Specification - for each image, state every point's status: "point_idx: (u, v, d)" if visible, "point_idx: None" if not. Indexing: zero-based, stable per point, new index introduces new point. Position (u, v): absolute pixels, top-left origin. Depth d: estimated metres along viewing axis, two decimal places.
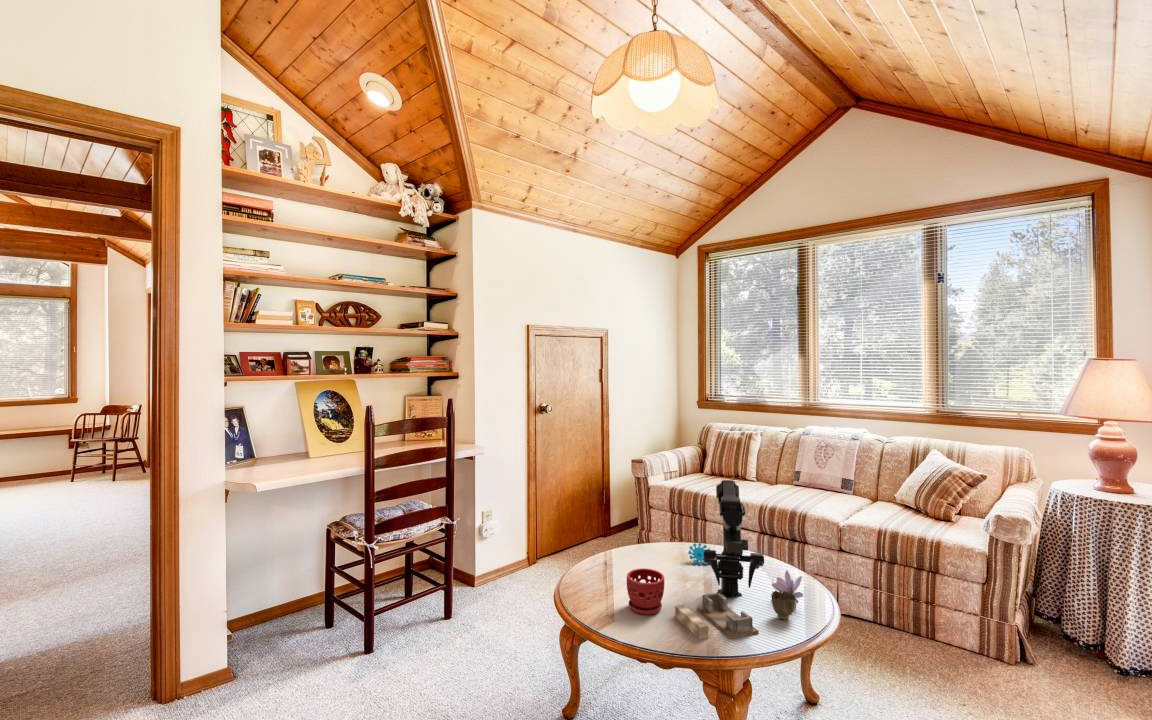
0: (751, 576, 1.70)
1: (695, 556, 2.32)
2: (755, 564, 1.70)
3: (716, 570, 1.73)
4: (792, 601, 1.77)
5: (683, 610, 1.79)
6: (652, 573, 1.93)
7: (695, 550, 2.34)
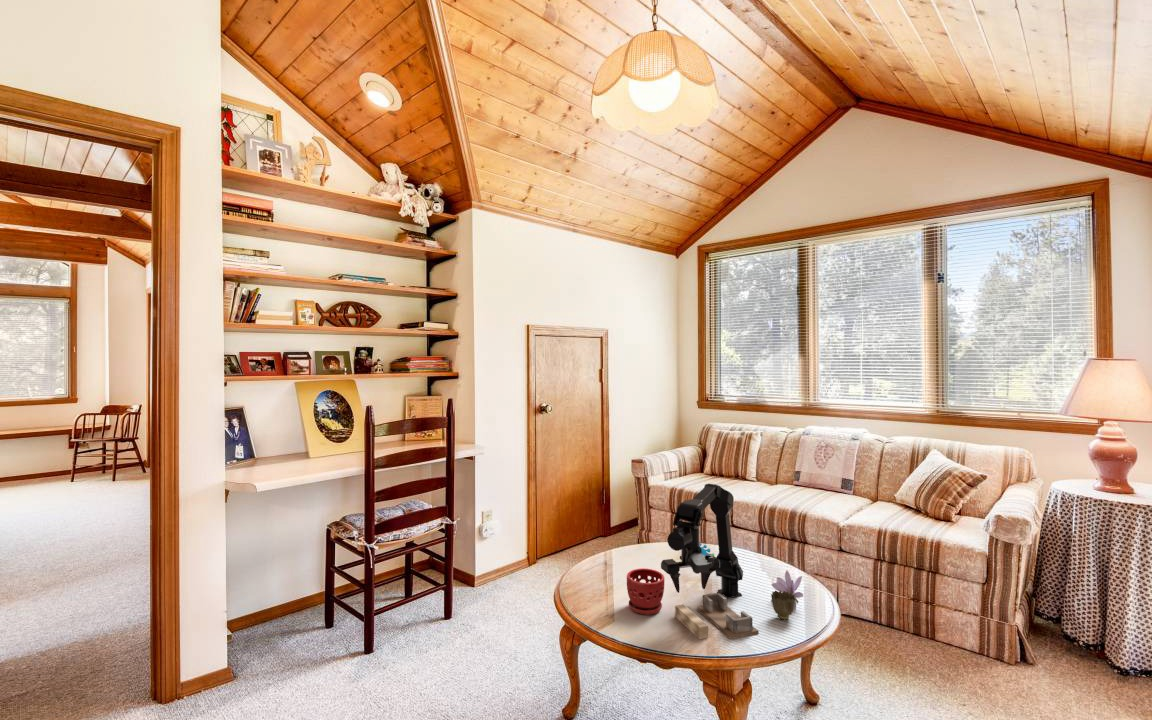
0: (707, 580, 1.76)
1: None
2: (712, 571, 1.75)
3: (677, 581, 1.73)
4: (792, 601, 1.77)
5: (683, 610, 1.79)
6: (652, 573, 1.93)
7: None
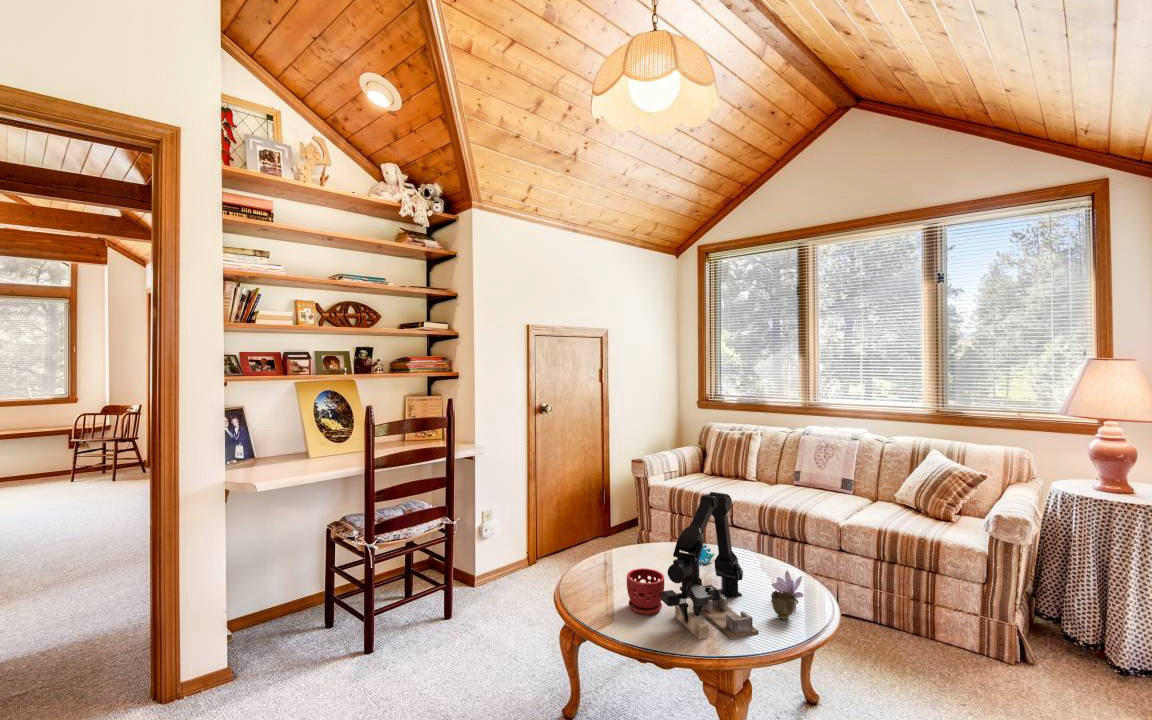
0: (699, 612, 1.75)
1: None
2: None
3: (685, 611, 1.73)
4: (792, 601, 1.77)
5: None
6: (652, 573, 1.93)
7: None
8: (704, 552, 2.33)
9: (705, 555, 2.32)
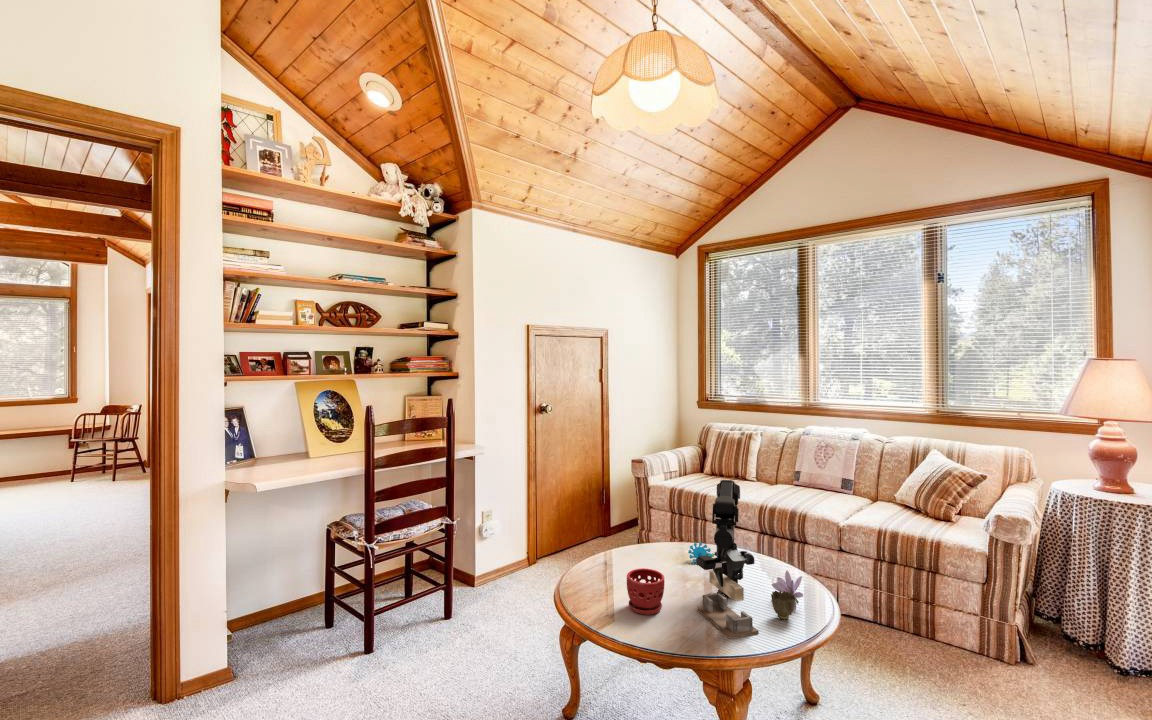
0: (733, 576, 1.79)
1: (695, 555, 2.33)
2: (739, 567, 1.78)
3: (721, 575, 1.77)
4: (792, 601, 1.77)
5: None
6: (652, 573, 1.93)
7: (695, 549, 2.35)
8: (704, 552, 2.34)
9: None
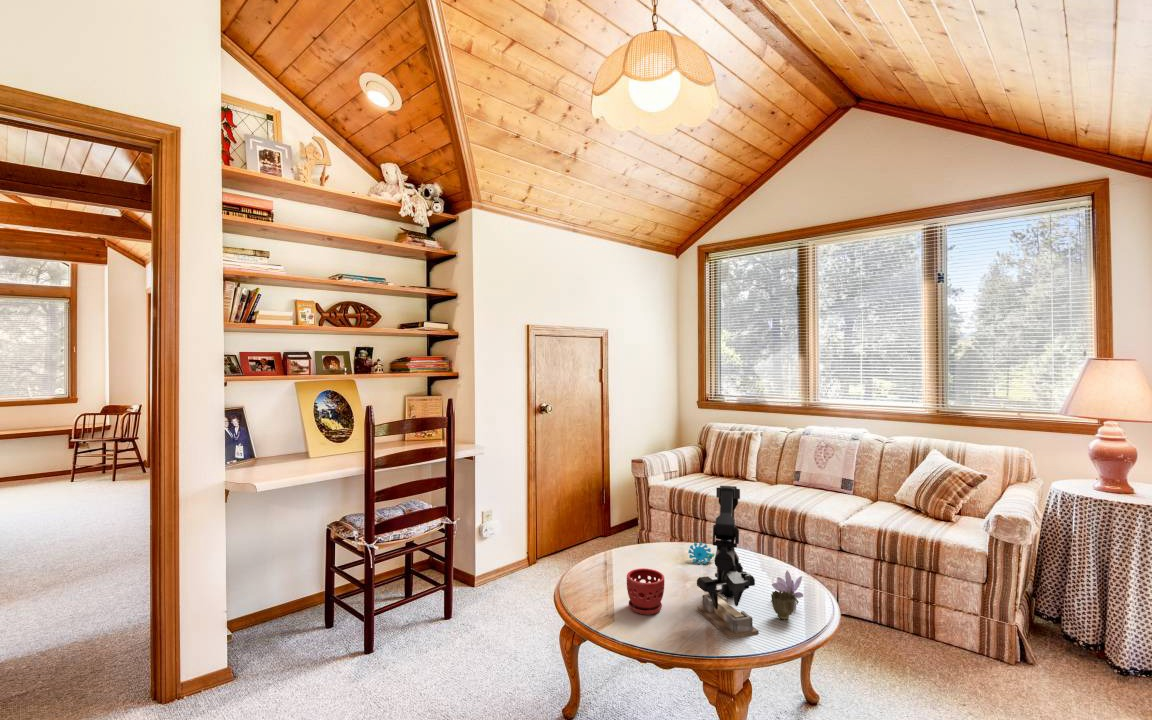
0: (739, 597, 1.79)
1: (695, 555, 2.33)
2: (745, 588, 1.78)
3: (716, 598, 1.77)
4: (792, 601, 1.77)
5: (718, 601, 1.82)
6: (652, 573, 1.93)
7: (695, 549, 2.35)
8: (704, 552, 2.34)
9: (705, 555, 2.33)
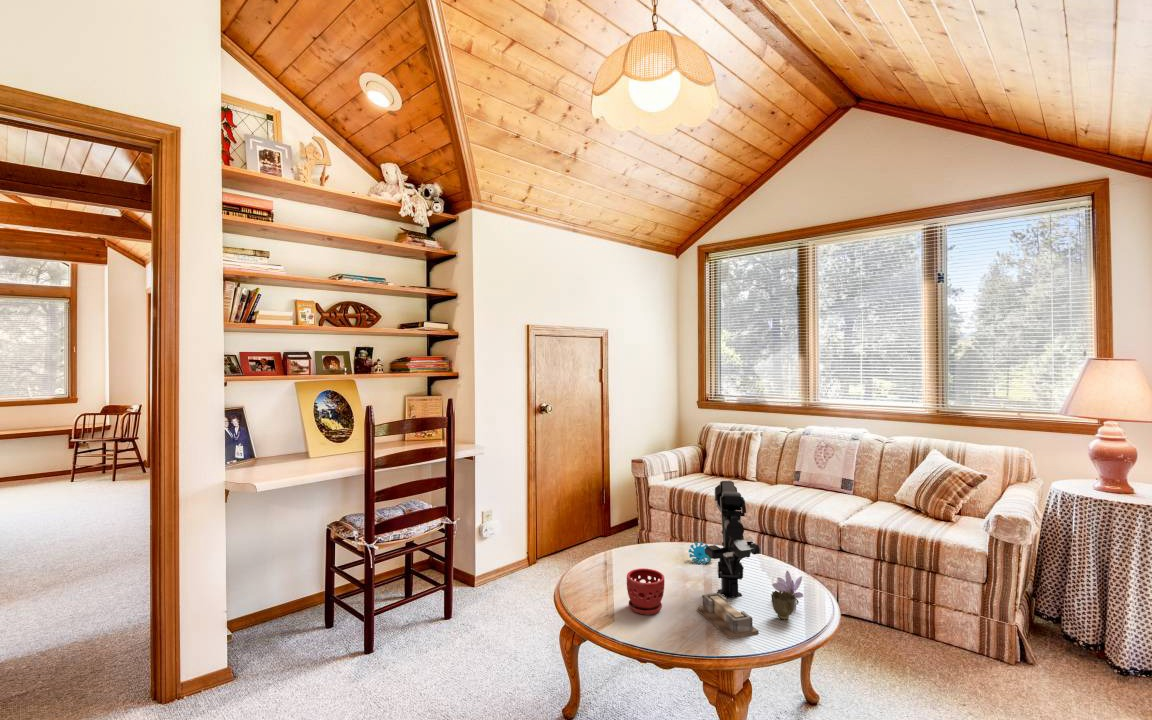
0: (736, 566, 1.87)
1: (695, 555, 2.34)
2: (742, 557, 1.86)
3: (732, 564, 1.86)
4: (792, 601, 1.77)
5: (718, 601, 1.82)
6: (652, 573, 1.93)
7: (695, 549, 2.36)
8: (704, 551, 2.34)
9: (705, 554, 2.33)
